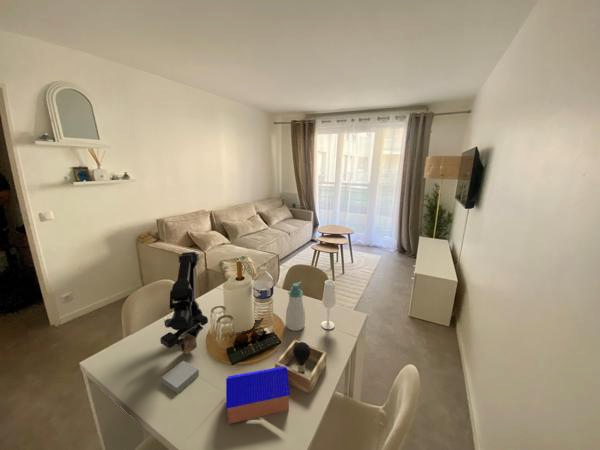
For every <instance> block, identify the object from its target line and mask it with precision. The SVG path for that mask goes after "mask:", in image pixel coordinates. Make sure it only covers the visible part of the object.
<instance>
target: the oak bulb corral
mask: <svg viewBox="0 0 600 450" xmlns="http://www.w3.org/2000/svg"><path fill="white" fill-rule="evenodd" d="M299 342H301V341H300V340H297V339H294V340H293V341H292V342H291V343H290V344H289V346H288V347H287V348H286V349H285V351H284V352H283V353H282V354H281V356H280V357H279V358H277V360H276V362H275V363H274V368H277V367H282V366H284V367H286V368H287V375H288V383H289V385H291V386H294V387H295V388H297V389H299V390H301V391H303V392H305V393H307V394H309V395H311V393H312V391H313V389H314V388H315V385H316V384H317V382H318V380H319V378H320V377H321V375H322V373H323V371H324V369H325V367H326V366H327V357H328V355H327V353H328V352H326V351H324V350H323V349H319V348H317V347H315V346H311V345H309V344H307V345H308V346H309V348H310V356H309V358H308V359H307V360H309V361H312V362H314V363H316V365H315V366H314V368H313V370H312V371H311V373H310V375H309V376H307V375H306V374H303V372H299V371H297V370H296V369H293V368H292V367H288V366H287V365H288V364H289V363H290V361H291V360H292V359H293V357H294V354H293V350H294V346H295V345H296V344H297V343H299Z"/></svg>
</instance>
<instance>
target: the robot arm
mask: <svg viewBox="0 0 600 450" xmlns="http://www.w3.org/2000/svg"><path fill="white" fill-rule="evenodd" d="M199 258H200V255H199V253H197V252H196V251H190V252H189V251H187V252H181V254H179V255H178V264H179V266H178V274H177V279H176V281H175V282H174V283H173V285H172V287H171V290H170V293H169V310H173V313H172V316H171V317H170V318H167V319H165V320H164V326H165V328H167V329H168V328H171V329H172V330H175V331H176V332H174V333H173V332H171V331H168V332H167V333H165V334H164V335H162V336H161V337H160V340H159V341H160V344H161V345H163V346H165V347H166V348H168V349H171V348H173V347H174V346H176V345H177V347H178V349H179V348H180V350H181V351H183V349H184V339H182V336H184V334H188V333H189V334H191V335H193V336H195V337H196V339H197V337H198V335H199V334H200V331H202V330H203V329H204V328H203V326H205V325H206V324H208V323H209V319H208V317H207V316H206V315H204V314H203V311H202V310H201V308H200V305H199V304H200V303H198V302H197V300H196V282H195V281H196V280H195V277H196V276H195V270H196V268H197V267H198V265H199V264H198V262H199V261H200V259H199ZM181 351H180V352H181Z"/></svg>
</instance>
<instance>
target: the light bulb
mask: <svg viewBox="0 0 600 450" xmlns="http://www.w3.org/2000/svg"><path fill="white" fill-rule="evenodd" d="M308 345H309V344H307V343H306V342H304V341H300V342H299V343H297V344H296V345H295V346H294V350H293V354H294V356H293V357H294V358H295V360H296V362H297V370H298V371H297V372H299V373H303V372H304V371H305V370H306V362H307V360H309V359H308V358H309V356H310V348H309V346H308Z"/></svg>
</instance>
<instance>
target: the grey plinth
mask: <svg viewBox="0 0 600 450" xmlns="http://www.w3.org/2000/svg"><path fill="white" fill-rule="evenodd" d="M199 376H200V373H199V368H196V367H195V366H193V365H192V364H190V363H188V362H186V361H185V360H182V361H181V362H179V363H178V364H176V366H174V367H173V368H171V370H169V371H167V372H166V373H165V374H163V375H162V376H161V381H162V382H161V383H162V384H164V386H166V387H167V388H169V389H170V390H172V391H173V392H174V393H176V395H177V394H178V395H179V393H180V392H182V390H184V389H185V388H186V387H187V386H188V385H190V383H192V382H193V381H194V380H195V379H197V378H198V377H199Z"/></svg>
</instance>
